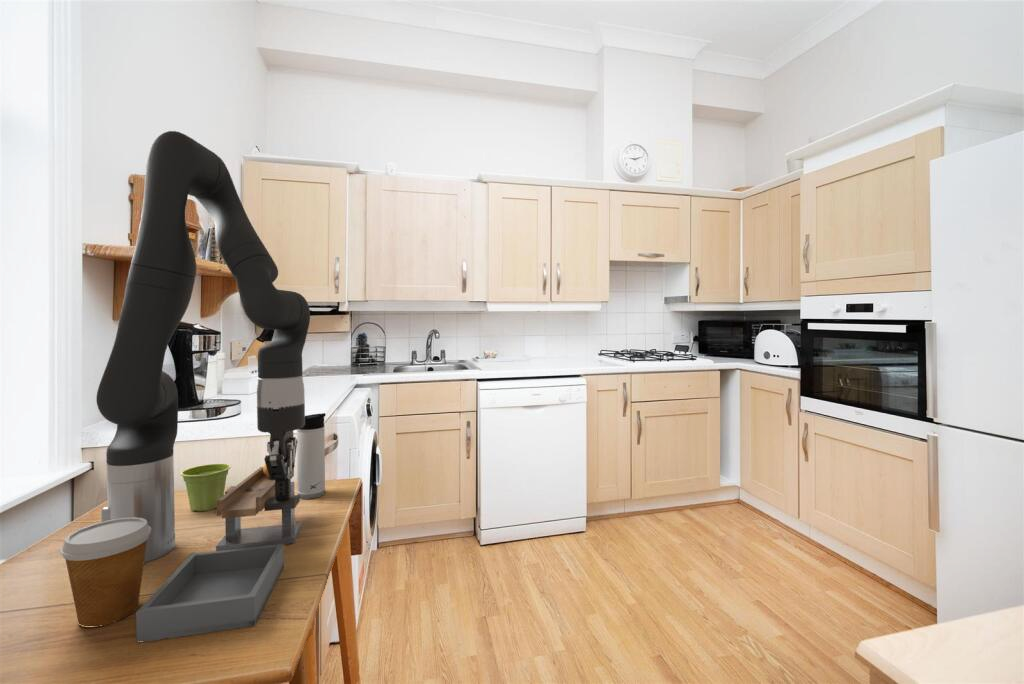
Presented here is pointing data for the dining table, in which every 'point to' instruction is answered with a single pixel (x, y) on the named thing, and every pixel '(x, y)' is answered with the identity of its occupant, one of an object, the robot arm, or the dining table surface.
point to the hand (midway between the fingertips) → (283, 498)
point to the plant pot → (205, 485)
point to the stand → (260, 531)
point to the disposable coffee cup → (106, 568)
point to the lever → (253, 497)
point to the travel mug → (311, 457)
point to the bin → (212, 593)
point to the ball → (265, 471)
